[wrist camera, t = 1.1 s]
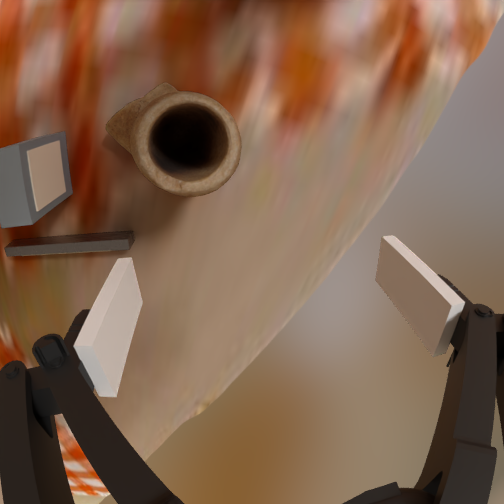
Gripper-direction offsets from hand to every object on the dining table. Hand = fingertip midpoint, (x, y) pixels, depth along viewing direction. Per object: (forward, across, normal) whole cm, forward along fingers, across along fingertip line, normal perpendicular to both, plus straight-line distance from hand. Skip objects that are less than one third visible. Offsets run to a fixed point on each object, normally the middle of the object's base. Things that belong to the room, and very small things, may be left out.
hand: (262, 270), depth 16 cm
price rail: (+27, -26, -8) cm, 39 cm away
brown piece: (+28, -7, +5) cm, 29 cm away
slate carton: (+28, -25, +4) cm, 38 cm away
